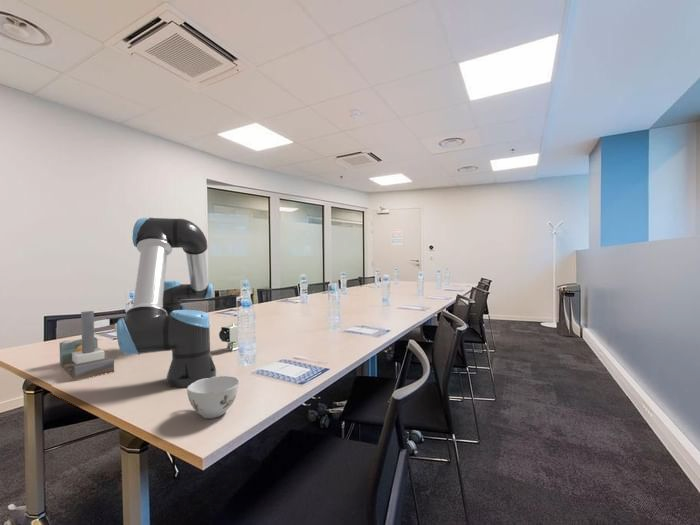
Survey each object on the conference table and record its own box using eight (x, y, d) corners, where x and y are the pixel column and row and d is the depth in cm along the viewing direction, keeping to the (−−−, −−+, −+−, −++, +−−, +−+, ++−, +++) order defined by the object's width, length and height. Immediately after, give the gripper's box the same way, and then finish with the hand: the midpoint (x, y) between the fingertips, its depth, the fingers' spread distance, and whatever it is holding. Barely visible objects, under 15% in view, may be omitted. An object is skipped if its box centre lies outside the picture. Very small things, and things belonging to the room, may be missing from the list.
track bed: (114, 371, 119) (113, 346, 119) (75, 380, 110) (74, 353, 110) (94, 358, 136) (94, 336, 136) (60, 365, 128) (59, 341, 128)
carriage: (104, 364, 121) (103, 311, 121) (77, 369, 115) (76, 314, 115) (98, 360, 126) (97, 309, 126) (72, 365, 120) (71, 312, 120)
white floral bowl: (249, 409, 87) (248, 379, 87) (207, 430, 76) (206, 396, 76) (214, 397, 95) (214, 370, 95) (172, 415, 85) (171, 384, 85)
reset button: (88, 354, 128) (88, 344, 128) (75, 356, 125) (75, 346, 125) (84, 351, 133) (84, 341, 133) (71, 353, 130) (71, 343, 130)
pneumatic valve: (247, 347, 150) (246, 321, 150) (226, 354, 140) (225, 326, 140) (238, 346, 153) (238, 320, 152) (217, 352, 142) (217, 325, 142)
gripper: (174, 326, 142) (125, 338, 122) (133, 323, 150) (82, 333, 130) (173, 309, 142) (125, 318, 122) (133, 307, 150) (82, 315, 130)
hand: (103, 326), depth 126 cm, fingers open, 13 cm apart
